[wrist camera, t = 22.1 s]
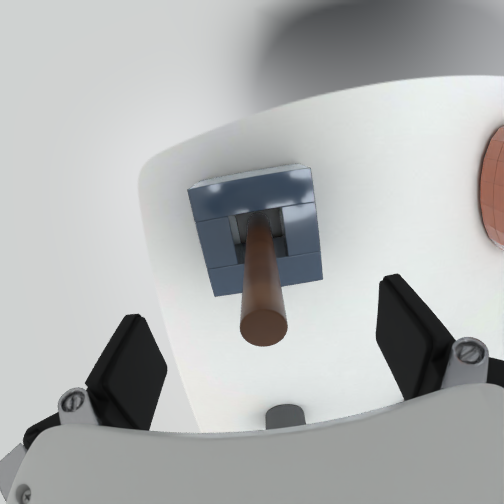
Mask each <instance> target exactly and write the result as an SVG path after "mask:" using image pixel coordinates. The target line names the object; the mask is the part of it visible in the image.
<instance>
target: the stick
mask: <svg viewBox="0 0 504 504" xmlns="http://www.w3.org/2000/svg"><path fill="white" fill-rule="evenodd" d="M287 328H288V325H287V319H286V313H285V307H284V301H283V295H282V289H281V283H280V278H279V272H278V266H277V261H276V255H275V250H274V244H273V239H272V233H271V228H270V223H269V219H268V217H267V216H266V215H265V214H263V213H255V214H253V215H251V216H250V218H249V220H248V227H247V240H246V252H245V265H244V278H243V291H242V304H241V318H240V332H241V335H242V336H243V338H244V339H245V340H246V341H247V342H249V343H250V344H253V345H256V346H271V345H274V344H276V343H278V342H279V341H281V340H282V339H283V338H284V336H285V335H286V332H287Z"/></svg>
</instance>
